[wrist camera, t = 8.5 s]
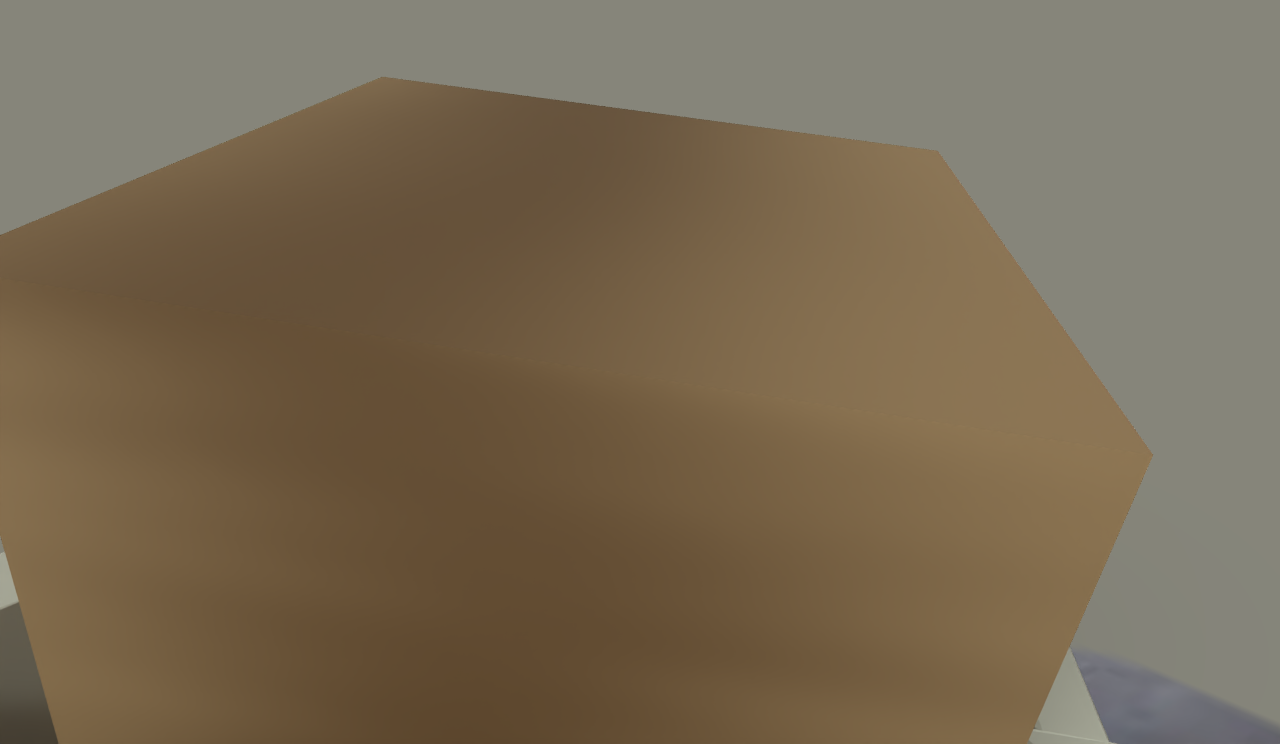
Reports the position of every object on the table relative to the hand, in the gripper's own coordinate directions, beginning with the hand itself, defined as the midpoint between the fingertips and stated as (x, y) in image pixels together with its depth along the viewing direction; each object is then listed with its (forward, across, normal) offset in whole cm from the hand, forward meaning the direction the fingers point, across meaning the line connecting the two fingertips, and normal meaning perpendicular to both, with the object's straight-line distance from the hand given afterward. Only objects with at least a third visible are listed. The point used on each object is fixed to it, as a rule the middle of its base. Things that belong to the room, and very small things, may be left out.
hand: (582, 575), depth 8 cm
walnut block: (-1, 0, +5) cm, 5 cm away
